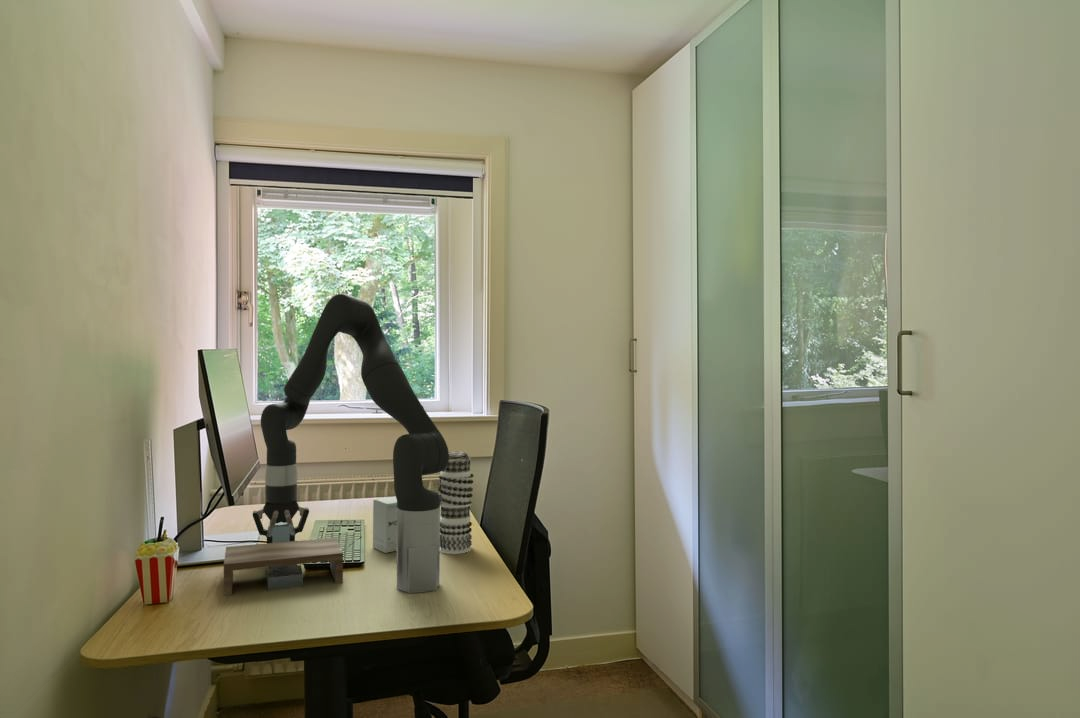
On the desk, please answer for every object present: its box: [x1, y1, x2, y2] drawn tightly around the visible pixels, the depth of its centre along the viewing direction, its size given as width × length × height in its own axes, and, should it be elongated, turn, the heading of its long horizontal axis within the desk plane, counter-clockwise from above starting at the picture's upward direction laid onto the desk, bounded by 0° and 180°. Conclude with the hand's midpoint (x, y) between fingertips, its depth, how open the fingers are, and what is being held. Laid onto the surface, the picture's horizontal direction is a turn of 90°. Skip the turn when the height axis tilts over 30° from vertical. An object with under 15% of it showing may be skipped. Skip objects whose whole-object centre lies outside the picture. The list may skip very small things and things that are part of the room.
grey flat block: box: [267, 564, 304, 592], centre depth 157 cm, size 7×7×3 cm
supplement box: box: [372, 496, 397, 554], centre depth 185 cm, size 7×7×13 cm
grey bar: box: [268, 522, 298, 568], centre depth 171 cm, size 24×6×7 cm, turn 22°
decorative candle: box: [437, 451, 474, 555], centre depth 184 cm, size 9×9×25 cm
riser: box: [223, 537, 344, 596], centre depth 160 cm, size 14×24×6 cm, turn 112°
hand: (280, 549), depth 180 cm, fingers closed on grey bar, 4 cm apart
